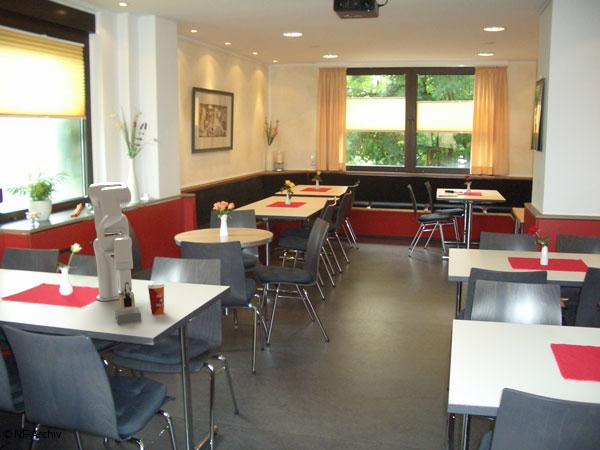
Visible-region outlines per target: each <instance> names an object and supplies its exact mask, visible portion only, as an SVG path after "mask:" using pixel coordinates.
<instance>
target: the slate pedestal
mask: <svg viewBox="0 0 600 450" xmlns="http://www.w3.org/2000/svg"><path fill="white" fill-rule="evenodd" d="M114 320H115V321H116V323H117V325H123V324H131V322H132V323H137V322H138V321H139V322H142V313H141V311H140V309H139V308H138V306H135V307H133V308H126V309H121V308H119V309H114Z"/></svg>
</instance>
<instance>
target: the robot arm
mask: <svg viewBox="0 0 600 450" xmlns="http://www.w3.org/2000/svg"><path fill="white" fill-rule="evenodd" d="M87 190H88V191H87V193H88V197H89V199H90V201H91V205H92V206H93V213H94V215H93V216H94V225H95V226H94V227H95V231H96V238H95V239H94V240H93V244H92V246H93V251H94V254H95V255H94V256H95V260H96V269H97V270H96V271H97V281H98V282H97V283H98V295H97V296H96V297H95V298H96V300H97V301H100V302H101V301H102V302H105V301H106V302H108V301H109V302H110V301H115V300H119V296H118V293H121V292H124V307H131V306H132V300H131V293H130V291H132V290H133V287H132V286H133V284H132V271H131V270H132V269H134V263H133V262H134V261H133V251H132V250H133V249H132V245H133V241H132V237H130V228H129V220H128V218H127V215H125V214H123V211H122V208H121V205H128V204H130V203H131V201H132V193H131V190H130V188H129V187H128V186H127V184H125V183H124V182H122V181H120V182H119V181H117V182H100V183H99V182H98V183H93V184H90V185H89V186H88V189H87ZM110 234H111V235H110ZM112 234H114V235H112ZM112 255H113V256H114V258H113V257H112ZM132 292H133V291H132ZM125 293H126V294H125Z"/></svg>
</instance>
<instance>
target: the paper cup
mask: <svg viewBox="0 0 600 450" xmlns="http://www.w3.org/2000/svg"><path fill="white" fill-rule="evenodd" d="M147 289H148V296H149V304H150V305H149V306H150V311H151V315H154V316H159V315H162V314H163V315H164V313H165V284H164V282H162V281H153V282H149V283H148V284H147Z"/></svg>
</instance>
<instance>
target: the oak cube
mask: <svg viewBox="0 0 600 450" xmlns="http://www.w3.org/2000/svg"><path fill="white" fill-rule="evenodd" d="M130 293H131V300H132V306H131V307H124V292H119V293H118V296H119V299H118V304H119V305H118V306H119V309H126V308H133V307H136V304H135V303H136V302H135V301H136V300H135V293H134V292H133V291H130ZM125 294H126V293H125Z"/></svg>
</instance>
